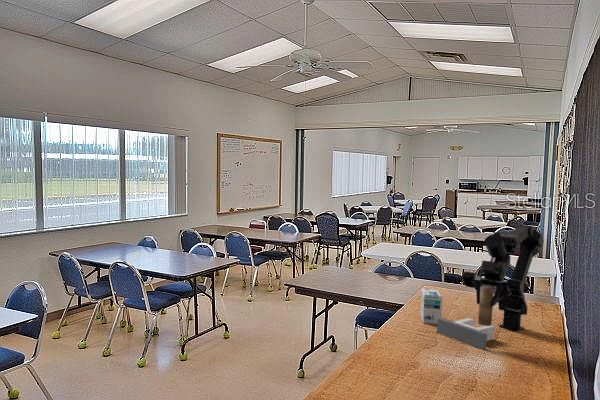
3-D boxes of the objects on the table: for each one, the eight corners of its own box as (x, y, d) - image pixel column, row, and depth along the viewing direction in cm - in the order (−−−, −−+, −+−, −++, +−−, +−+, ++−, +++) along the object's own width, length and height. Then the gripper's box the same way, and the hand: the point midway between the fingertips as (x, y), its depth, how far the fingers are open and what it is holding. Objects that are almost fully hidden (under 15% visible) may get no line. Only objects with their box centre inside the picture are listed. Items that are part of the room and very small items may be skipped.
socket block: (467, 330, 165) (468, 318, 164) (493, 339, 157) (494, 326, 156) (451, 334, 160) (452, 321, 159) (477, 343, 151) (478, 330, 151)
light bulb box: (441, 325, 170) (443, 296, 169) (422, 323, 171) (424, 294, 171) (437, 316, 181) (439, 289, 180) (419, 315, 182) (421, 288, 181)
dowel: (484, 321, 153) (487, 285, 152) (494, 325, 149) (496, 288, 148) (475, 322, 151) (477, 286, 150) (484, 326, 147) (486, 289, 147)
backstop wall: (439, 332, 162) (440, 317, 162) (486, 349, 147) (487, 333, 147) (436, 332, 161) (437, 318, 161) (483, 349, 146) (484, 334, 146)
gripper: (465, 247, 158) (450, 284, 150) (523, 255, 145) (510, 296, 138) (472, 267, 164) (458, 303, 157) (529, 276, 152) (516, 316, 144)
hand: (484, 304), depth 149 cm, fingers closed on dowel, 4 cm apart
